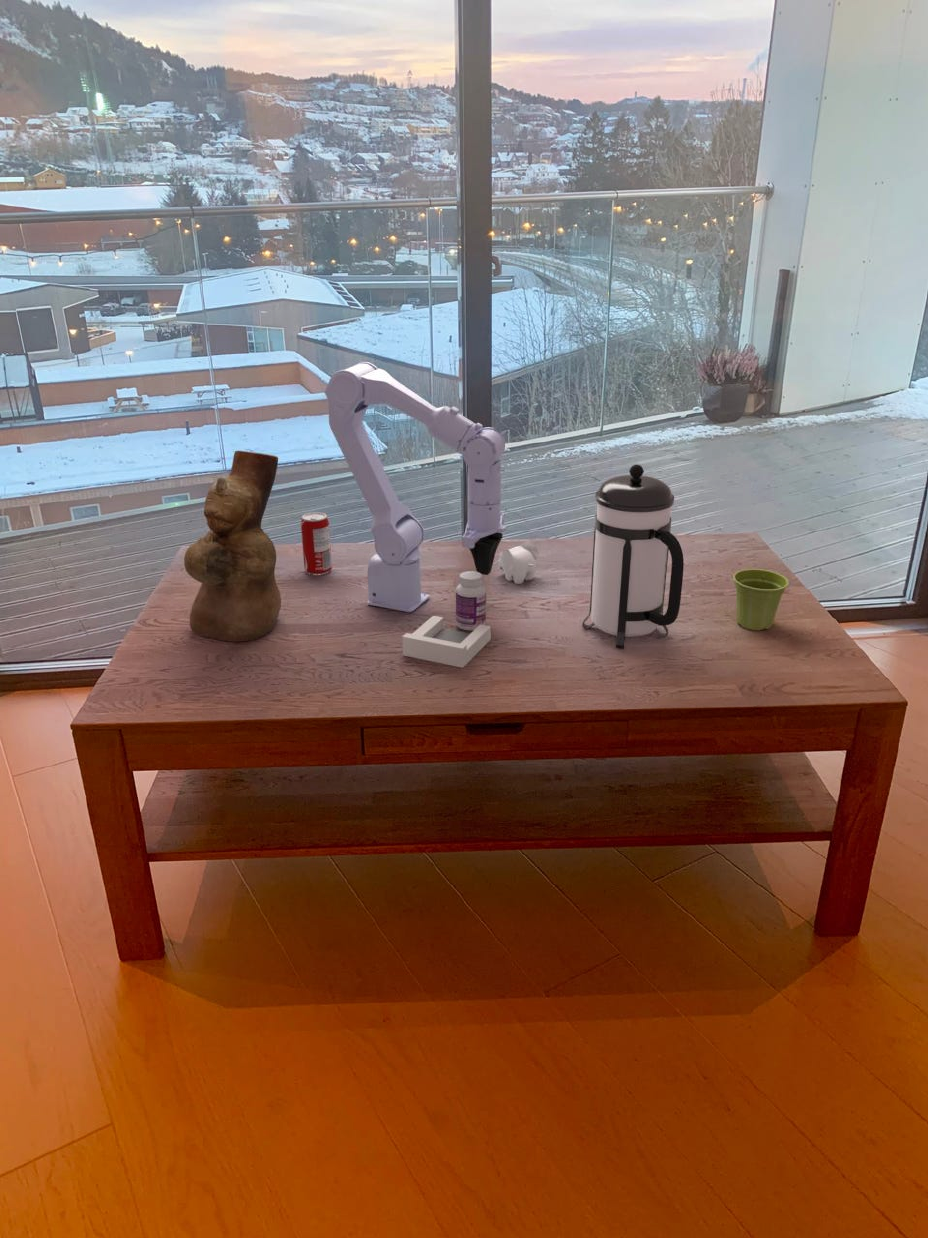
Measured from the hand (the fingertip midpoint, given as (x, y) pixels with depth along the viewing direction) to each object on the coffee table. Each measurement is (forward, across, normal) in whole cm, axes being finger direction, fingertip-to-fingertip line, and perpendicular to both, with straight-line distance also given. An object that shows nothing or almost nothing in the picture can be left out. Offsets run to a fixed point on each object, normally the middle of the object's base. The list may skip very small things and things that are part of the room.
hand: (483, 573), depth 170 cm
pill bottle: (+8, -6, 0) cm, 10 cm away
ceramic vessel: (+8, -20, +38) cm, 44 cm away
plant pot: (+8, +15, -46) cm, 49 cm away
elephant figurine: (+8, +18, +1) cm, 20 cm away
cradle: (+8, -15, 0) cm, 17 cm away
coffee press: (+8, +2, -27) cm, 28 cm away
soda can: (+8, +6, +39) cm, 40 cm away
